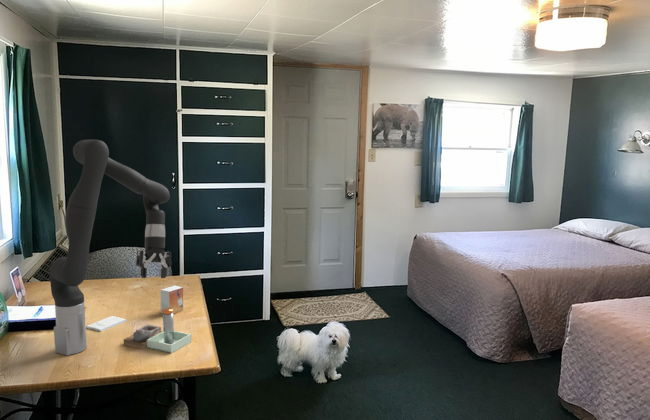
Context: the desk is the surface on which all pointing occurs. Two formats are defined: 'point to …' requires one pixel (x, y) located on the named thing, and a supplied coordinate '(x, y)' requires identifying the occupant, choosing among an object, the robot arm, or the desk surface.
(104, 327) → the external hard drive
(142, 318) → the desk surface
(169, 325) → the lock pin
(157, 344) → the tray
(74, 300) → the robot arm
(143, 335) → the tensioner bracket
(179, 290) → the small box
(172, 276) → the desk surface
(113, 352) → the desk surface
